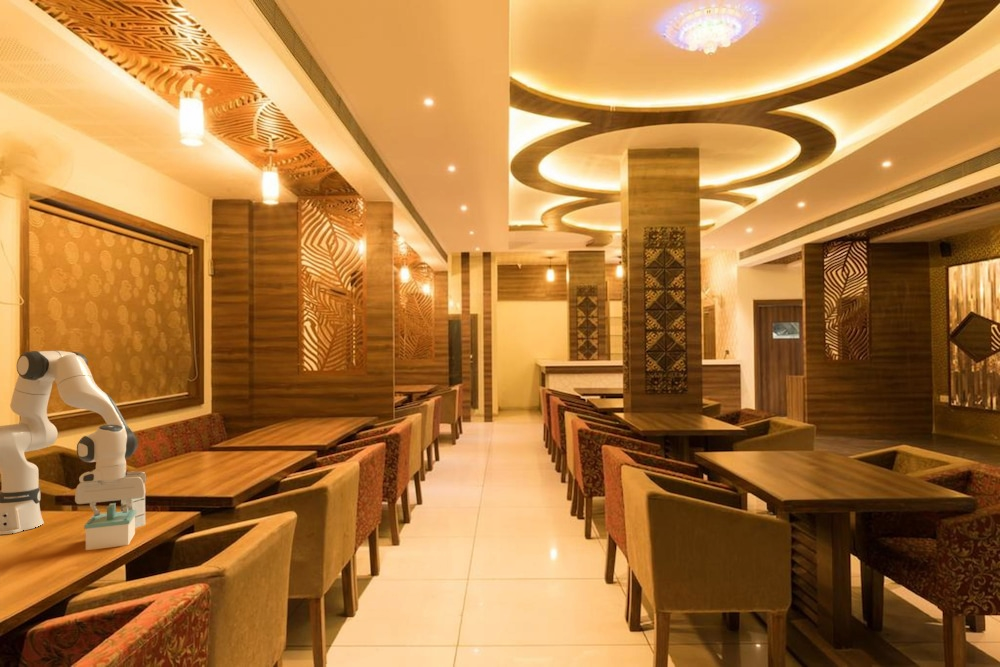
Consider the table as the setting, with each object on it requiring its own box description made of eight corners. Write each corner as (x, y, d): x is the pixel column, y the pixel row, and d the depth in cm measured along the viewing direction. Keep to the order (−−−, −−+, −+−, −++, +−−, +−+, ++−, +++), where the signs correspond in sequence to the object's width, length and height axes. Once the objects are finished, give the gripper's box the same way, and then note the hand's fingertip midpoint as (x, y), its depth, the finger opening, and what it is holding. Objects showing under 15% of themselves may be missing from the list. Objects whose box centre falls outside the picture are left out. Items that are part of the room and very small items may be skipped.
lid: (84, 532, 199) (84, 512, 199) (94, 521, 213) (94, 502, 213) (129, 527, 204) (129, 508, 204) (136, 516, 218) (135, 498, 218)
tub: (85, 553, 199) (85, 528, 200) (95, 541, 212) (95, 517, 213) (128, 547, 204) (128, 523, 204) (135, 536, 217) (134, 513, 217)
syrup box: (146, 527, 228) (146, 488, 229) (132, 531, 223) (131, 491, 223) (134, 526, 230) (134, 487, 230) (120, 530, 224) (120, 490, 225)
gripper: (147, 468, 216) (147, 508, 215) (78, 474, 208) (78, 515, 207) (144, 471, 210) (144, 512, 210) (73, 477, 202) (73, 519, 202)
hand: (111, 513), depth 208 cm, fingers open, 7 cm apart
